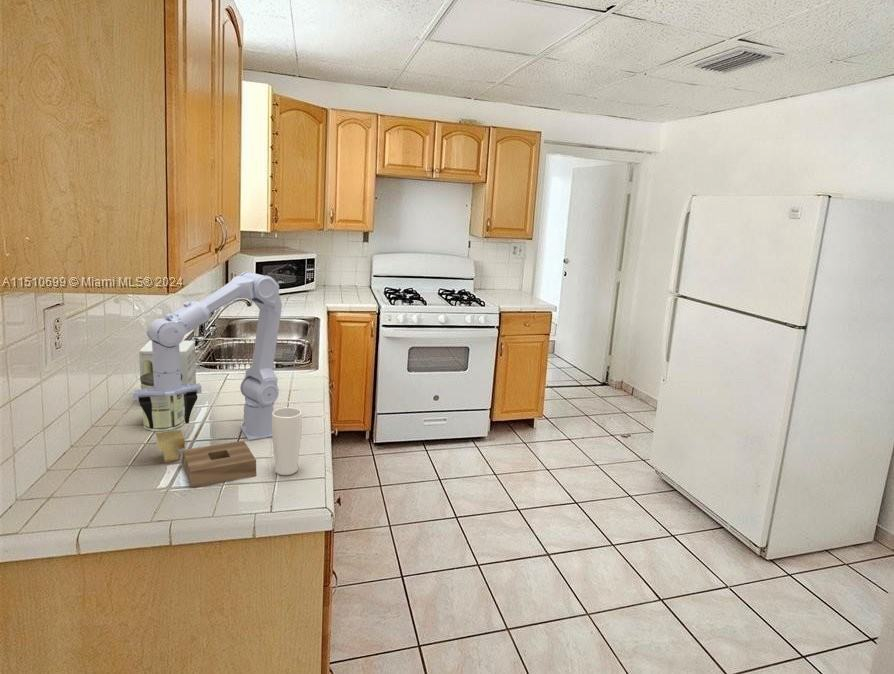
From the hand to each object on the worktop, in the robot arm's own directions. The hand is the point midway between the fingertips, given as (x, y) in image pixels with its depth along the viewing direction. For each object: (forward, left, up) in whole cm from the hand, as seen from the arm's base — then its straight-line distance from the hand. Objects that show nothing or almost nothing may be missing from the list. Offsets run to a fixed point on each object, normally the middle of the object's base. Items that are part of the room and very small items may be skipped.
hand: (169, 424), depth 135 cm
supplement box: (-43, +5, -9) cm, 44 cm away
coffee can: (-23, +1, -9) cm, 25 cm away
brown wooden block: (+11, +9, -9) cm, 17 cm away
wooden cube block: (0, 0, -9) cm, 9 cm away
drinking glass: (+18, +23, -9) cm, 30 cm away
